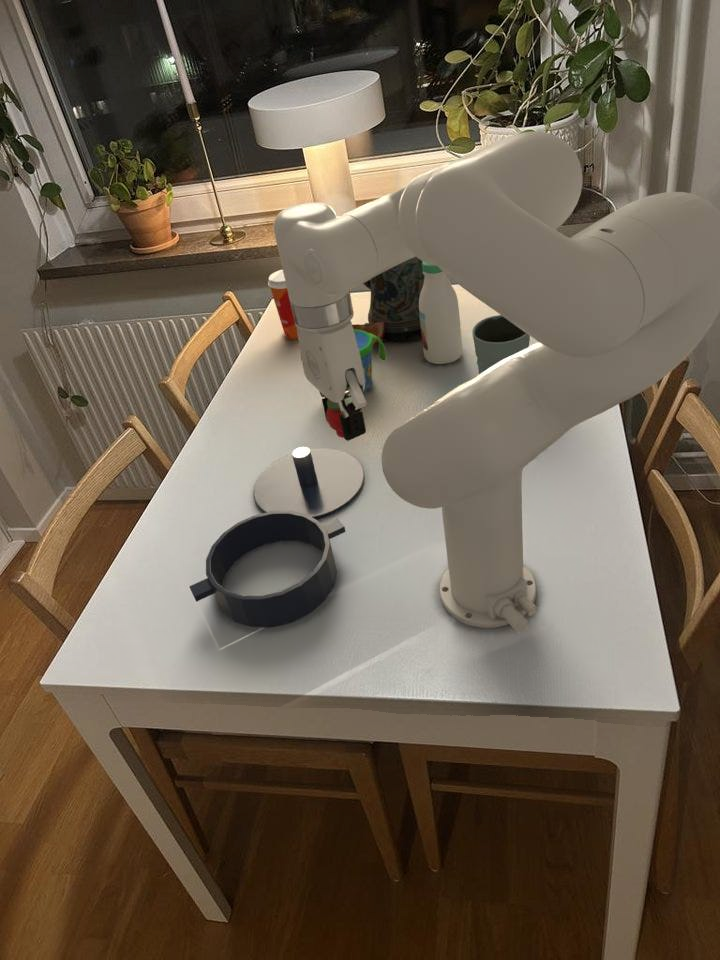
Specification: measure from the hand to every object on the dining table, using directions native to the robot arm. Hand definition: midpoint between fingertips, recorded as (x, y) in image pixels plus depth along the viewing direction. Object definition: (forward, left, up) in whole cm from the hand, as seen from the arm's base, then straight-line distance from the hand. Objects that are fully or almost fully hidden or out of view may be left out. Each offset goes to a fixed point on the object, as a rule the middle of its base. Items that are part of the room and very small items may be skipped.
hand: (346, 426), depth 103 cm
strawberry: (0, 0, -1) cm, 1 cm away
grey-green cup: (+17, -38, -17) cm, 45 cm away
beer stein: (+52, -36, -17) cm, 65 cm away
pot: (-4, +17, -17) cm, 24 cm away
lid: (+13, +4, -17) cm, 21 cm away
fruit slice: (+49, -27, -15) cm, 58 cm away
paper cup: (+66, -17, -17) cm, 70 cm away
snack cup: (+36, -16, -17) cm, 43 cm away
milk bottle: (+34, -36, -17) cm, 52 cm away
